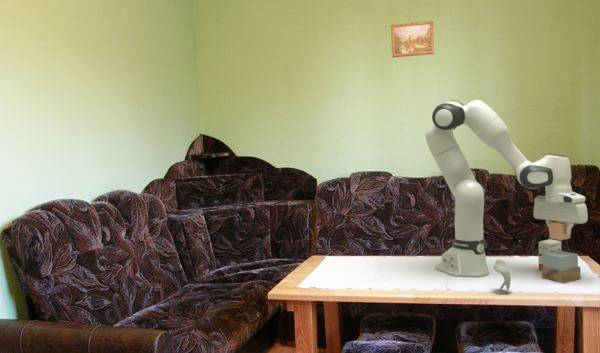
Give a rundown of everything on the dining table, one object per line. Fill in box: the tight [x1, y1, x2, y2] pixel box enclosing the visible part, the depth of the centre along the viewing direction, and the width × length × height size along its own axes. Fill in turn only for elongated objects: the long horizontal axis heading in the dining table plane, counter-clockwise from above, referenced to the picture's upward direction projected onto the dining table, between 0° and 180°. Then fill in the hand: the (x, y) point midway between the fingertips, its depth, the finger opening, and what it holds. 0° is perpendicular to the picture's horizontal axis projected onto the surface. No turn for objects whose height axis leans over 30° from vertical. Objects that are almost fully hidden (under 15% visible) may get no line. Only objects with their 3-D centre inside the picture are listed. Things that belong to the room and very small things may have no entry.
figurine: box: [493, 258, 512, 294], centre depth 172 cm, size 8×5×12 cm
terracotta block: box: [548, 221, 571, 241], centre depth 184 cm, size 5×5×6 cm
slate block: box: [543, 250, 579, 271], centre depth 185 cm, size 8×9×5 cm
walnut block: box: [540, 266, 582, 285], centre depth 185 cm, size 9×10×5 cm
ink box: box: [538, 238, 562, 271], centre depth 199 cm, size 8×5×12 cm, turn 120°
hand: (559, 232), depth 184 cm, fingers closed on terracotta block, 5 cm apart
